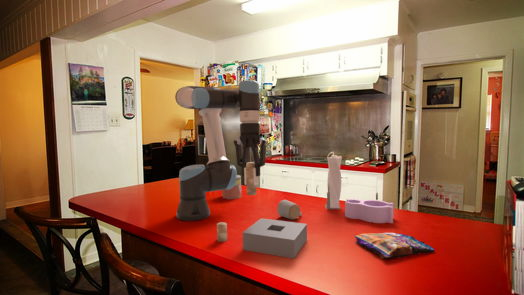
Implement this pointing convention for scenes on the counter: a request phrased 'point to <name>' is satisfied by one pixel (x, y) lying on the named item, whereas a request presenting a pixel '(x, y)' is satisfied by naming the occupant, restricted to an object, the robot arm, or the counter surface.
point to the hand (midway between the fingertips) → (251, 184)
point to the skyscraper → (334, 182)
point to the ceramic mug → (288, 210)
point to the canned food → (233, 190)
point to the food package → (392, 244)
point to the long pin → (250, 178)
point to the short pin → (221, 231)
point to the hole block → (275, 237)
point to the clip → (369, 210)
